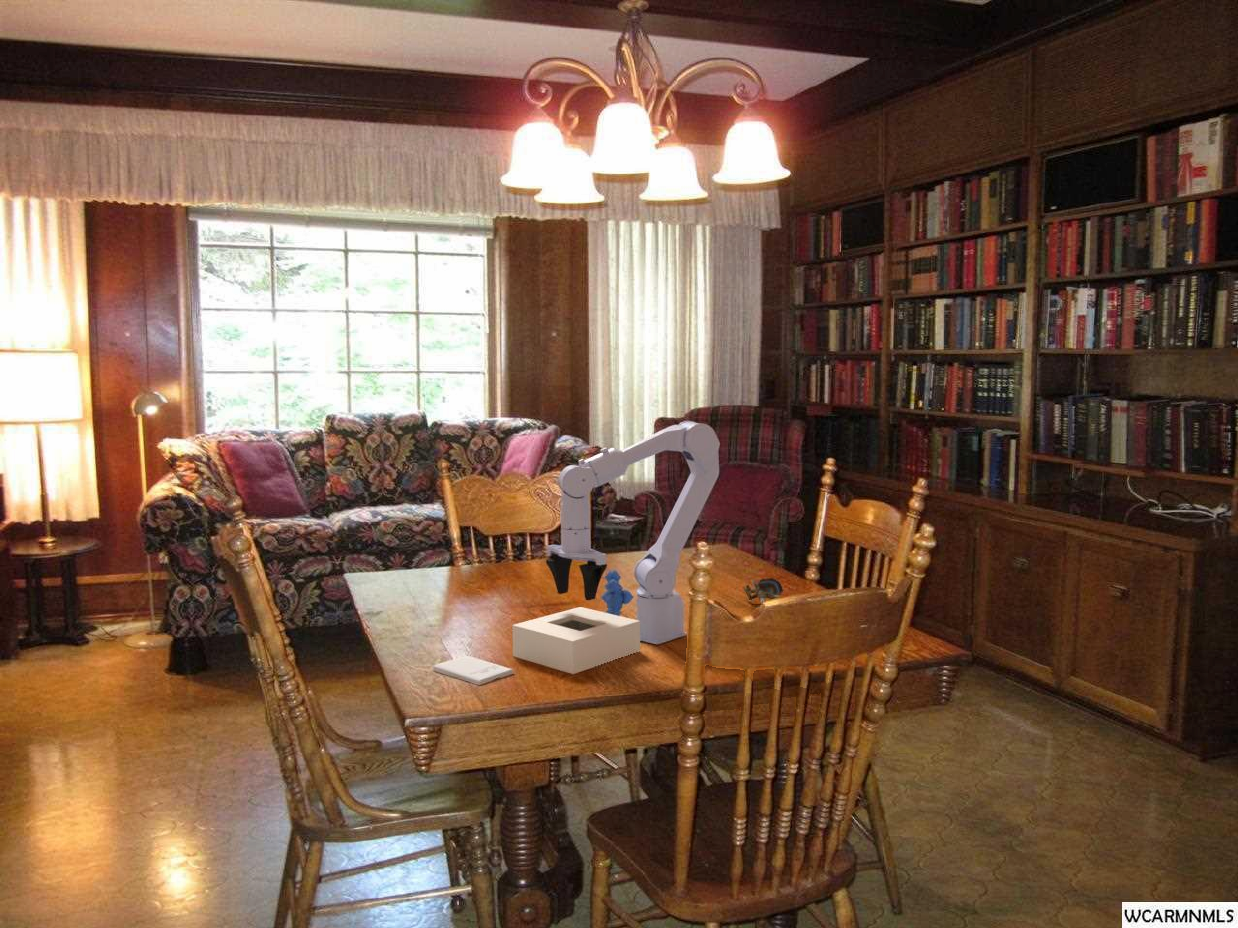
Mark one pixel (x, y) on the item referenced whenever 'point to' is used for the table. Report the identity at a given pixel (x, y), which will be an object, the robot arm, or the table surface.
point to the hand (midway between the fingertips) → (576, 596)
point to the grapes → (615, 594)
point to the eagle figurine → (764, 589)
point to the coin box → (576, 639)
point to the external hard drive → (472, 670)
